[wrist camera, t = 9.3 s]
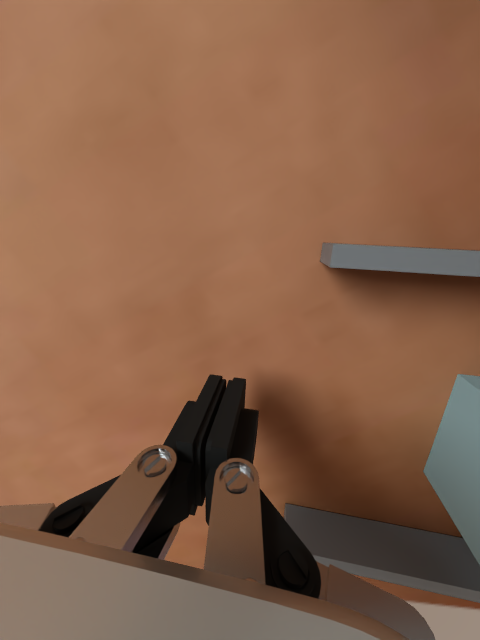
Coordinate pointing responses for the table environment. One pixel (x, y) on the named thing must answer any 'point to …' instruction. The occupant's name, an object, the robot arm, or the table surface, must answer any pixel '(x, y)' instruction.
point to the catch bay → (377, 537)
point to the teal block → (459, 460)
